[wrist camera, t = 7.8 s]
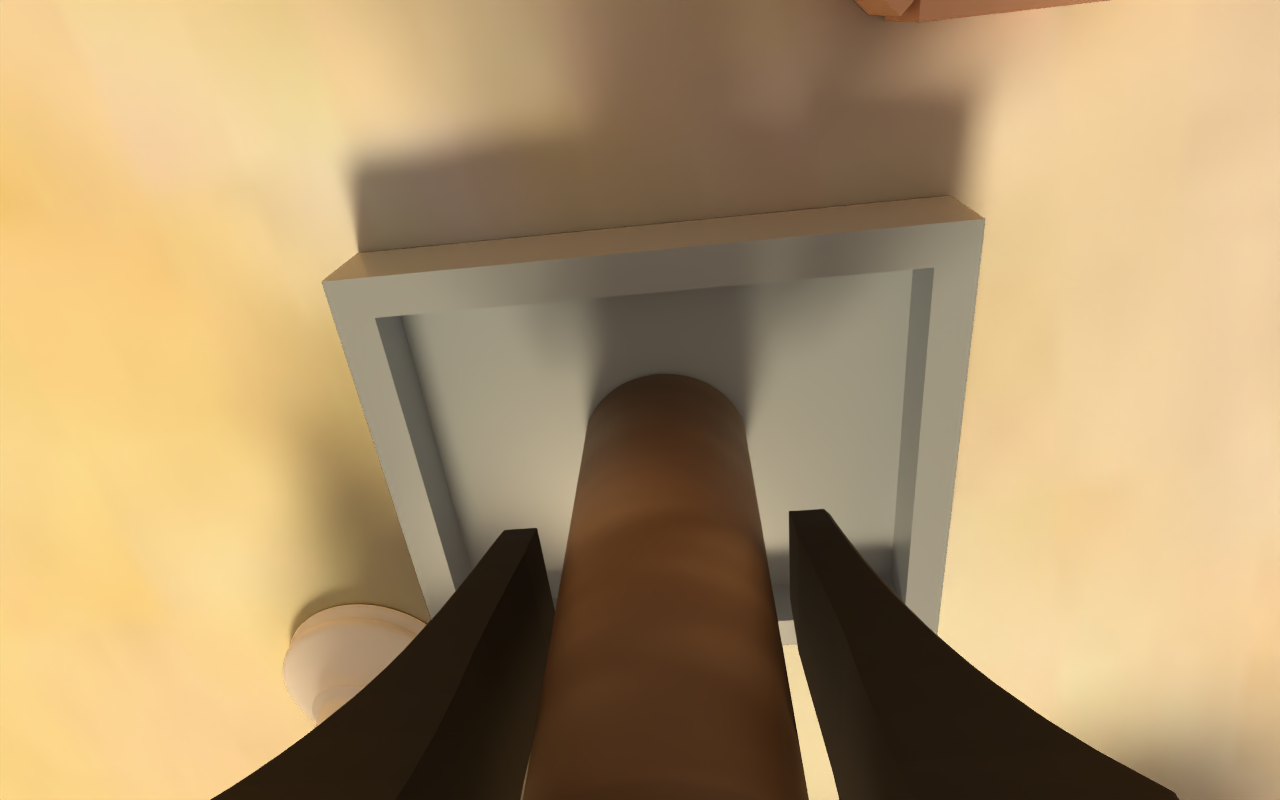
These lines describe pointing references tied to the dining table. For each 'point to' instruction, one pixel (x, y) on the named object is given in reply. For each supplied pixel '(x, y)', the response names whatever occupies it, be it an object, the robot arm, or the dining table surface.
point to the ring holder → (953, 8)
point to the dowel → (665, 615)
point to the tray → (675, 344)
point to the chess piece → (343, 654)
